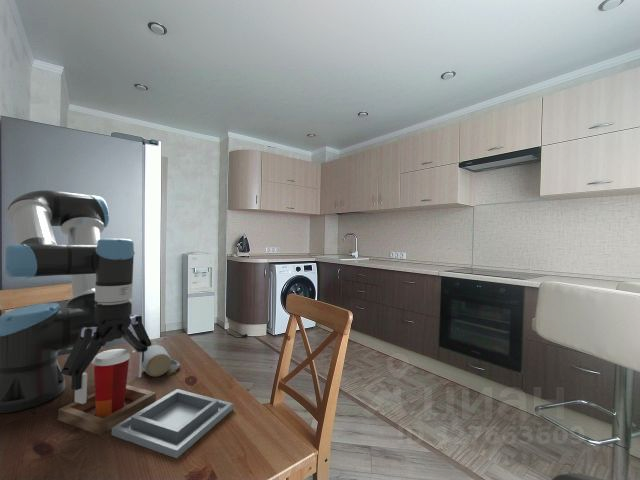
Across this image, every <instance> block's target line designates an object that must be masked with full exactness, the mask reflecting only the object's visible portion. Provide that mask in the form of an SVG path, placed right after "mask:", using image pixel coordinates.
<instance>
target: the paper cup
mask: <svg viewBox="0 0 640 480" xmlns="http://www.w3.org/2000/svg"><path fill="white" fill-rule="evenodd" d="M130 358H132V354H130V352H129V350H128V349H125V348H114V349H108V350H104V351H101V352H98V353H97V354H96V356H95V357H94V359H93V360H92V361H91V364H92V365H93V371H94V373H93V374H94V375H93V377H94V393H95V406H94V407H95V414H96V415H95V416H97V417H100V418H105V417H106V416H108V415H110V414H112V413H114V412H116V411H117V410H119V409H121V408H123V407H125V402H126V401H125V400H126V398H125V393H126V385H128V384H127V382H128V374H129V373H128V372H129V362H130Z"/></svg>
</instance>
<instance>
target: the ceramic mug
mask: <svg viewBox="0 0 640 480" xmlns="http://www.w3.org/2000/svg"><path fill="white" fill-rule="evenodd" d="M147 348H148V350H147V351H146V352H144V361H143V362H142V368H143V370H144V372H145V373H146V374H147V376H148V375H149V376H150V377H155V378H157V377H160V376H163V375H164V374H165V373H167V372H168V370H170V371H176V370H178V369H179V367H180V363H179V361H177V360H175V359H173V358H171V356H170V355H169V353H168V352H167V350H166V349H165V347H163V346H162V345H159V344H155V345H154V344H153V345H151V346H149V347H147Z"/></svg>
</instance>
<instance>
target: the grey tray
mask: <svg viewBox="0 0 640 480" xmlns="http://www.w3.org/2000/svg"><path fill="white" fill-rule="evenodd" d="M233 406H234V404H233V402H230V401H225V400H221V399H218V398H215V397H209V396H206V395H202V394H199V393H195V392H190V391H187V390H183V389H179V388H177V389H174V390H173V391H171V392H169V393H168V394H166V395H164V396H163V397H161V398H159V399H158V400H156V402H154V403H153V404H151V405H149V406H148V407H146V408H144V409H142V410H141V411H139V412H137V413H136V414H134V415H132V416H131V417H129V418H127V419H126V420H124V421H122V422H121V423H119V424H117V425H115V426H114V427H112V429H111V436H114V437H115V438H119V439H122V440H124V441H127V442H129V441H130V443H132V442H133V444H135V445H138V446H140V447H144V448H146V449H149V450H152V451H155V452H156V453H157V452H158V453H160V454H162V455H163V454H164V455H165V456H168V457H172V458H174V459H179V457H180V456H182V455H183V454H184V453H185V452H186V451H187V450H189V448H190V447H192V446H193V445H195V443H196V442H197V441H199V440H200V439H201V438H202V437H203V436H204V435H206V434H207V433H208V432H209V431H210V430H211V429H213V427H215V426H216V425H217V424H218V423H220V421H222V419H224V418H225V417H226V416H227V415H228V414H229V413H230V412H232V411H233V409H234V408H233Z"/></svg>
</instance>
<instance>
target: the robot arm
mask: <svg viewBox="0 0 640 480" xmlns="http://www.w3.org/2000/svg"><path fill="white" fill-rule="evenodd" d="M109 213H110V211H109V207H108V205H107V202H106V200H105V199H104V198H103V197H102V196H99V195H92V194H89V193H88V194H87V193H85V194H83V193H72V192H65V191H55V190H48V189H47V190H41V189H40V190H35V191H29V192H26V193H24V194H21V195H20V196H18V197H16V198H14V199H13V200H12V201H11V203H9V205H8V207H7V217H8V220H9V222H10V223H11V224H13V233H14V242H15V243H14V244H8V245H7V246H6V247H5V252H4V274H5V276H7V277H9V278H35V277H37V278H39V277H54V276H55V277H56V276H70V277H71V278H70V279H71V291H72V297H71V298H70V299H68V300H67V303H66V306H65V307H61V306H60V304H59V303H58V302H48V303H45V302H44V303H38V304H31V305H27V306H23V307H18V308H15V309H14V308H13V309H12V310H9V311H7V312H5V313H3V314H1V315H0V414H7V413H13V412H18V411H22V410H23V411H24V410H27V409H31V408H33V407H37V406H39V405H40V406H41V405H42V404H44V403H47V402H49V401H52V400H53V399H55V398H58V396H60V395H61V394H62V393H63V392H64V391H65V389H66V379H65V376H68V377H71V384H70V386H71V389H72V390H74V402H77V403H81V404H84V403H86V399H87V396H88V393H87V392H88V373H87V372H85V371H86V370H87V369H88V367H89V365H90V364H92V361H93V360H94V358H95V357H96V355H97V354H99V352H100V350H101V349H102V347H104V346H105V345H106V344H107V343H108V342H110V343H111V342H113V341H115V340H120V339H124V340H125V341H126V342H127V343H128V344H129V345H130V346H131V347H132V348H133V349H134V350H132V352H131V371H130V372H131V373H130V375H131V377H134V378H138V379H140V378H142V368H143V367H142V362H143V361H144V352H146V351H147V350H148V347H150V346H152V341H151V339H150V336H149V335H148V333H147V331H146V329H145V326H144V324H143V317H142V315H139V314H138V315H137V314H132V312H133V310H132V309H133V307H132V306H133V302H132V301H131V300H132V298H133V285H134V284H133V281H134V280H133V279H134V278H133V277H134V257H135V249H134V248H135V247H134V246H135V245H134V244H135V243H134V241H133V240H132V239H130V238H109V237H108V238H104V237H103V238H101V233H103V231H104V230H105V228H106V227H108V225H109V220H110V214H109ZM53 227H60V231H61V232H62V233H63V235H65V236H67V242H68V244H57V240H56V237H55V233H54V229H53ZM130 325H131V327H132V329H133V331H134V333H135V335H134V334H133V331H131V330H130V329H129V327H130ZM68 350H71V351H70V353H69V355H68V357H67V358H66V361H65V363H64V364H63V367H62V369H61V367H60V364H59V362H58V356H59V355H58V353H59V352H62V351H68Z"/></svg>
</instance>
